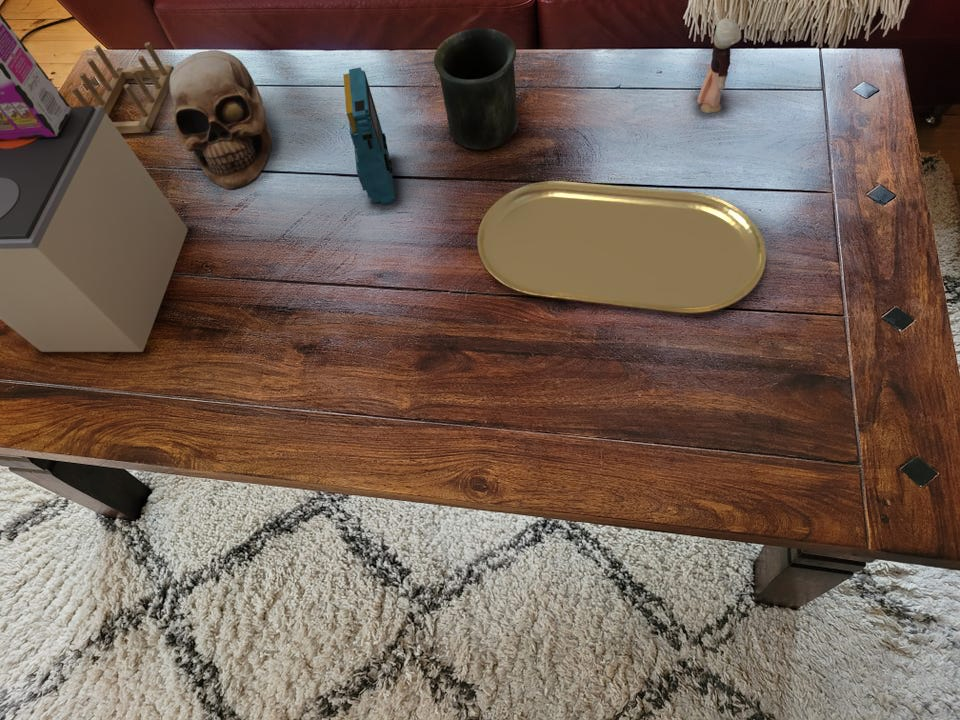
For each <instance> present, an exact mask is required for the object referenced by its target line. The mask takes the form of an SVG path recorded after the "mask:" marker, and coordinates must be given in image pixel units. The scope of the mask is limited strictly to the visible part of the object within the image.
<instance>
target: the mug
mask: <svg viewBox="0 0 960 720" xmlns="http://www.w3.org/2000/svg"><path fill="white" fill-rule="evenodd" d="M516 57H517V48H516V45H515V43H514V41H513V40H512V38H511V37H510V36H508V35H507V34H506V33H504V32H502V31H499V30H497V29H493V28H486V27H484V28H483V27H478V28H477V27H476V28H468V29H465V30H461V31H459V32H457V33H454V34H453V35H450V36H448V37H447V38H446V39H444V40H443V42H441V43H440V44H439V46H438V47H437V49H436V50H435V53H434V56H433V66H434V68H435V71H436V72H437V73H438V75H439V80H440V85H441V91H442V97H443V101H444V107H445V113H446V117H447V118H446V119H447V123H448V129H449V132H450V133H449V134H450V135H451V138H452V139H454V141H456V143H458V144H459V145H461V146H462V147H464V148H468V149H470V150H476V151H485V150H491V149H494V148H497V147H499V146H501V145H504V143H506V142H508V141H509V140H510V139H511V138H512V136H513V135H514V133H515V132H516V130H517V129H518V124H519V113H518V100H517V99H518V98H517V86H516V85H517V84H516V74H515V61H516Z"/></svg>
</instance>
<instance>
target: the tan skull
mask: <svg viewBox="0 0 960 720" xmlns="http://www.w3.org/2000/svg"><path fill="white" fill-rule="evenodd" d="M173 68H174V69H173V71H172V73H171V76H170V82H169V93H170V97H171V100H172V102H173V104H174V105H173V106H174V107H173V109H172V127H173V132H174V136H175V137H176V139H177V141H178V142H179V144H180V145H181V147H182V148H183V149H184V150H185V151H187V152H189V153H193V155H194V157H195V159H196V162H197V164H198V166H199V167H200V169H201V170H202V172H203V174H205V175H206V177H207V179H209V180H210V182H212V183H214V184H215V185H218V186H219V187H220V186H221V187H223V188H224V189H228V190H233V189H235V188H240V187H243V186H246V185H248V184H250V183H251V182H252V181H253V180H254V179H256V178H257V177H258V176H259V175H260V174H261V172H263V171H262V170H263V169H264V167H265V165H266V162H267V160H268V157H269V155H270V153H271V152H270V150H271V148H272V145H273V141H272V139H273V138H272V135H271V132H270V129H269V127H268V124H267V121H266V109H265V107H264V101H263V98H262V96H261V94H260V93H261V92H260V91H259V88H258V86H257V85H256V84H255V81H254V79H253V77H252V75H251V74H250V72H249V71H248V69H247V67H246V66H245V65H244V64H243V62H242V60H241V59H239V58H238V57H237V56H235V55H233V54H231V53H228V52H226V51H223V50H218V49H211V50H206V51H199V52H196V53H192V54H191V55H188V56H186V57H185V58H184V59H182V60H181V61H180V62H178V63H177V64H176V65H175V67H173Z"/></svg>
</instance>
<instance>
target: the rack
mask: <svg viewBox="0 0 960 720" xmlns="http://www.w3.org/2000/svg"><path fill="white" fill-rule="evenodd" d="M144 47H145V49H146V50H147V52H148V54H149V56H150V57H151V59H152V61H153V62H154V64H155V65H152V66H150V64H149V63H148V61H147V60H146V58H145V56H144V55H143V54H142V55H138V57H137V60H138V61H139V63H140V64H141V66H136V67H133V66H132V67H119V68H116V69H115V67H114V66H113V63H112V62H111V61H110V59H109V58H108V56H107V54H106V53H105V52H104V50H103V49H102V47H101V46H100V45H99V44H96V45H94V46H93V49H94V50H95V52H96V53H97V55H98V56H99V58H100V59H101V60H102V62H103V64H104V65H105V67H106V68H107V70H108V72H109V74H111V76H112V78H111V80H110V81H109V82H108V80H107V79H106V77H105V76H104V74H103V73H102V71H101V69H99V67H98V65H97V64H96V62H95V60H94V59H93V58H92V57H91V58H88V59H86V62H87V64H88V65H89V67H90V68H91V70H92V72H93V73H94V74H95V76H96V77H97V79H98V80H99V82H100V83H101V84H102V86H103V88H104V89H105V91H104V94H103V95H102V96H101V95H100V93H99V92H98V91H97V89H96V87H95V86H94V84H93V82H91V80H90V79H89V78H88V76H87V74H86V73H85V72H80V73H78V77H79V78H80V79H81V81H82V82H83V84H84V85H85V86H86V88H87V89H88V91H89V92H90V93H91V95H92V96H93V98H94V99H95V101H96V102H97V103H98V105H97V107H102V108H103V110H104V111H105V113H106V114H107V115H108V117H110V114H111V112H112V109H113V108H114V106H115V104H116V102H117V100H118V98H119V96H120V94H121V91H122V90H123V88H124V90H125V92H126V93H127V95H128V96H129V98H130V99H131V101H132V102H133V104H134V105H135V107H136V108H137V109H138V111H139V113H140V115H141V118H140V119H139V120H132V121H112V122H113V124H114V125H115V127H116V128H117V129H118V131H119V132H120V134H121V135H122V134H140V133H142V134H143V133H145V134H146V133H150V132H151V130H152V128H153V126H154V123H155V121H156V119H157V116H158V114H159V112H160V110H161V108H162V106H163V103H164V101H165V99H166V97H167V94H168V92H169V91H170V88H169V82H170V76H171V73H172V71H173V69H174V68H175V67H173V65H172V64H169V65H168V64H167V65H164V64H163V63H162V61H161V60H160V57H159V56H158V53H156V51H155V49H154V47H153V46H152V44H151V42H150V41H146V42H145V43H144ZM158 78H159V79H158ZM143 79H150V81H151V84H153V86H154V88H153V92H152V93H151V91H150V90H149V88H148V87H147V85H146V83H145V82H144V81H143ZM127 80H135V82H136V84H137V85H138V87H139V88H140V90H141V91H142V93H143V95H144V96H145V98H146V99H147V101H148V102H147V105H146V107H144V105H143V103H142V102H141V100H140V99H139V97H138V95H137V94H136V93H135V91H134V90H133V88H132V86H131V85H130V84H129V83H126V82H127ZM70 91H71V92H72V93H73V95H74V96H75V97H76V99H77V100H78V102H79V103H80V104H81V106H82V107H83V106H91V104H89V102H88V101H87V100H86V98H85V97H84V95H83V94H82V92H81V91H80V89H79V88H78V87H77V86H72V87H71V88H70Z"/></svg>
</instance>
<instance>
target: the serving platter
mask: <svg viewBox="0 0 960 720" xmlns="http://www.w3.org/2000/svg"><path fill="white" fill-rule="evenodd" d="M476 246H477V247H476V249H477V252H478V256H479V259H480V261H481V263H482V265H483V266H484V268H485V269H486V272H488V273H489V274H490V276H492V277H493V279H494V280H496V281H497V282H498V283H500V284H502V285H503V286H505V287H506V288H508V289H511V290H512V291H515V292H517V293H520V294H523V295H527V296H530V297H531V296H532V297H536V298H545V299H555V300H564V301H569V302H579V303H588V304H595V305H602V306H603V305H604V306H613V307H618V308H619V307H620V308H629V309H636V310H637V309H638V310H644V311H645V310H646V311H654V312H662V313H671V314H678V315H699V314H709V313H713V312H716V311H720V310H723V309H726V308H728V307H730V306H733V305H734V304H736V303H738V302H740V301H741V300H743V299H744V298H745V297H747V296H748V295H749V294H750V293H751V292H752V291H753V290H754V289H755V288H756V286H757V285H758V283H759V282H760V280H761V278H762V276H763V274H764V272H765V268H766V263H767V249H766V245H765V241H764V238H763V236H762V233H761V231H760V229H759V228H758V226H757V225H756V224H755V223H754V222H753V220H752V219H751V218H750V217H749V216H748V215H747V214H746V213H745V212H744V211H742V210H741V209H739V208H738V207H736V206H735V205H733V204H731V203H729V202H728V201H726V200H723V199H721V198H718V197H716V196H712V195H708V194H705V193H701V192H693V191H683V190H682V191H681V190H670V189H669V190H668V189H659V188H647V187H646V188H645V187H634V186H622V185H613V184H612V185H611V184H598V183H586V182H576V181H566V180H565V181H564V180H547V181H539V182H533V183H530V184H526V185H523V186H520V187H518V188H516V189H513V190H512V191H509V192H507V193H506V194H504V195H503V196H501V197H500V198H499V199H498V200H496V202H494V203H493V204H492V205H491V206H490V207H489V209H488V210H487V212H485V214H484V216H483V218H482V219H481V222H480V224H479V227H478V231H477V236H476Z"/></svg>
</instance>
